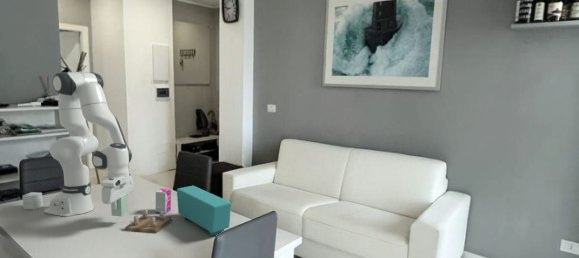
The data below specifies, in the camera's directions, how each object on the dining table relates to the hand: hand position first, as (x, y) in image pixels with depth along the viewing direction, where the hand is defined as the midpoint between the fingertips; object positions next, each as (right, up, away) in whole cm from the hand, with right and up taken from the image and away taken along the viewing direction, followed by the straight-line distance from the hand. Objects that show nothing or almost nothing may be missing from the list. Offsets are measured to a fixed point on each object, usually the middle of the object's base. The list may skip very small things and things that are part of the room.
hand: (119, 206), depth 165 cm
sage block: (0, -4, 0) cm, 4 cm away
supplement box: (+14, -7, +18) cm, 24 cm away
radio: (+39, -10, +3) cm, 40 cm away
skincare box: (-54, -5, +18) cm, 58 cm away
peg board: (+14, -9, 0) cm, 17 cm away
